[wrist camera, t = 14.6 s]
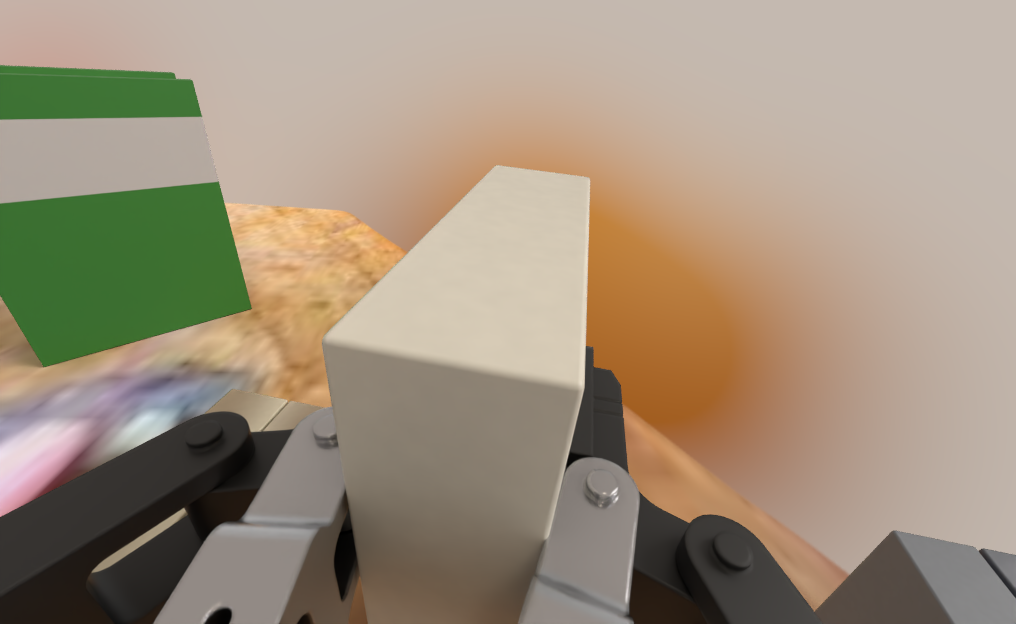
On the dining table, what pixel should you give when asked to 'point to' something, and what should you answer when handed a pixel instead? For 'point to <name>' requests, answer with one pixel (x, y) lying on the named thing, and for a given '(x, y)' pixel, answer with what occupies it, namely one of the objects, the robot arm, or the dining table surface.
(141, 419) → the dining table surface
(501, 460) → the white book
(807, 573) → the dining table surface
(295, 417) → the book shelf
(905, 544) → the grey books
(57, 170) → the hardback book
